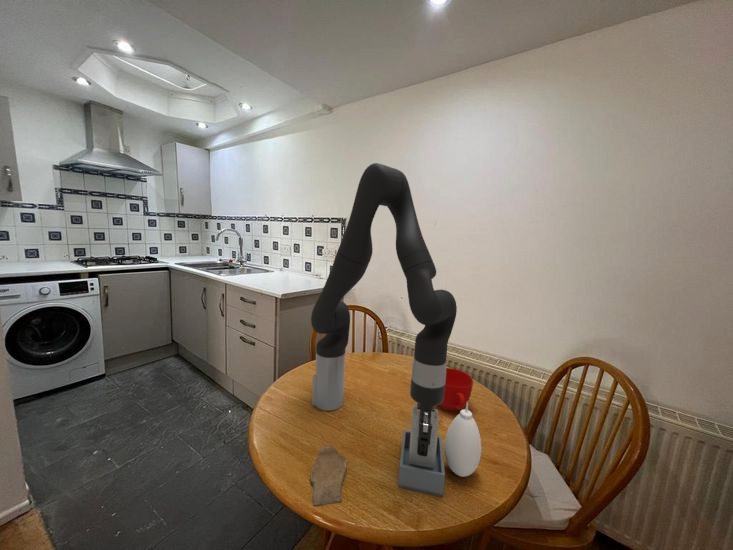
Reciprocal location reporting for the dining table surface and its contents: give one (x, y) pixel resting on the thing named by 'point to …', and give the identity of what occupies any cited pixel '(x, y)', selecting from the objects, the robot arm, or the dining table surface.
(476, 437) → the sauce bottle
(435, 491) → the bin
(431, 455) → the skincare box
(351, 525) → the dining table surface
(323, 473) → the pottery shard
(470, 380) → the ceramic cup
